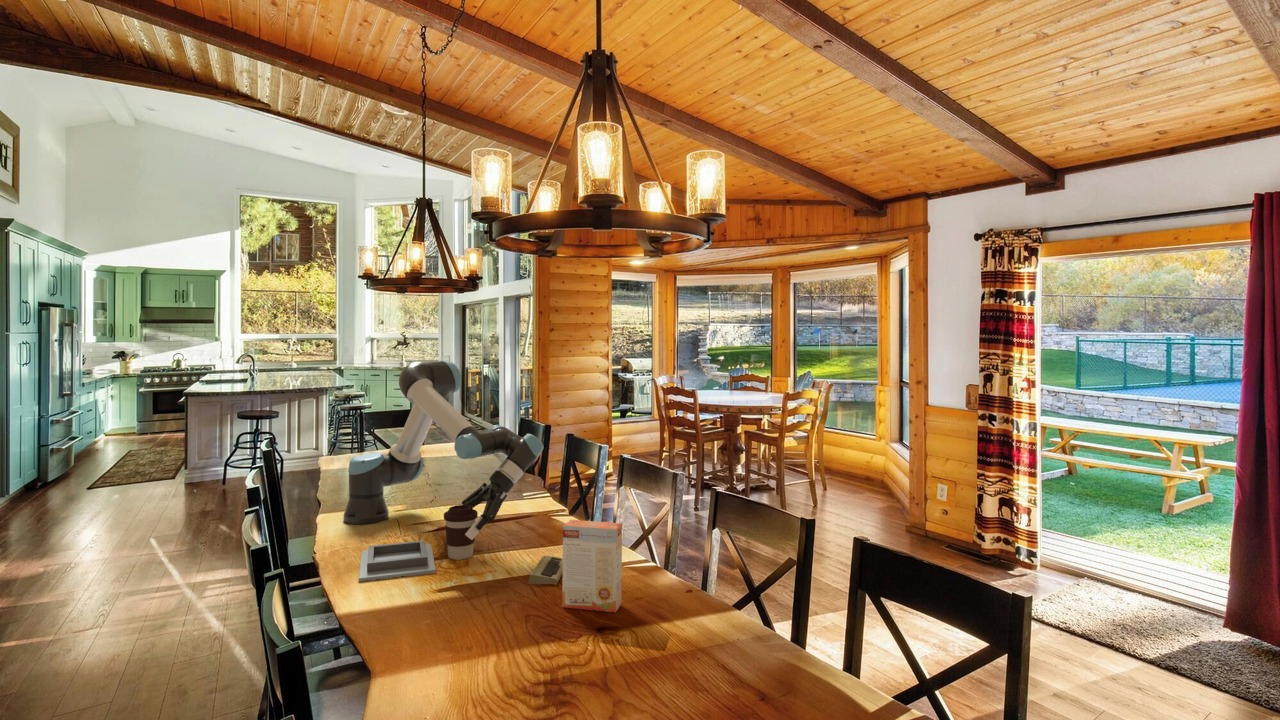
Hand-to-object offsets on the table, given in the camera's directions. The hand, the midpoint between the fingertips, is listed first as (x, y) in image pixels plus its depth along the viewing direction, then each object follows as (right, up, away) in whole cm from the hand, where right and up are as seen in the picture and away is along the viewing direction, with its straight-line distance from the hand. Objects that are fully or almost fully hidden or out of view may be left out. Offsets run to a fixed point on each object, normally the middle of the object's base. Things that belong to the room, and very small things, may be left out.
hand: (459, 531), depth 192 cm
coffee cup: (0, -8, +1) cm, 8 cm away
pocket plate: (-17, -8, -6) cm, 19 cm away
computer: (+29, -9, -12) cm, 33 cm away
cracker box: (+43, -10, -34) cm, 55 cm away
